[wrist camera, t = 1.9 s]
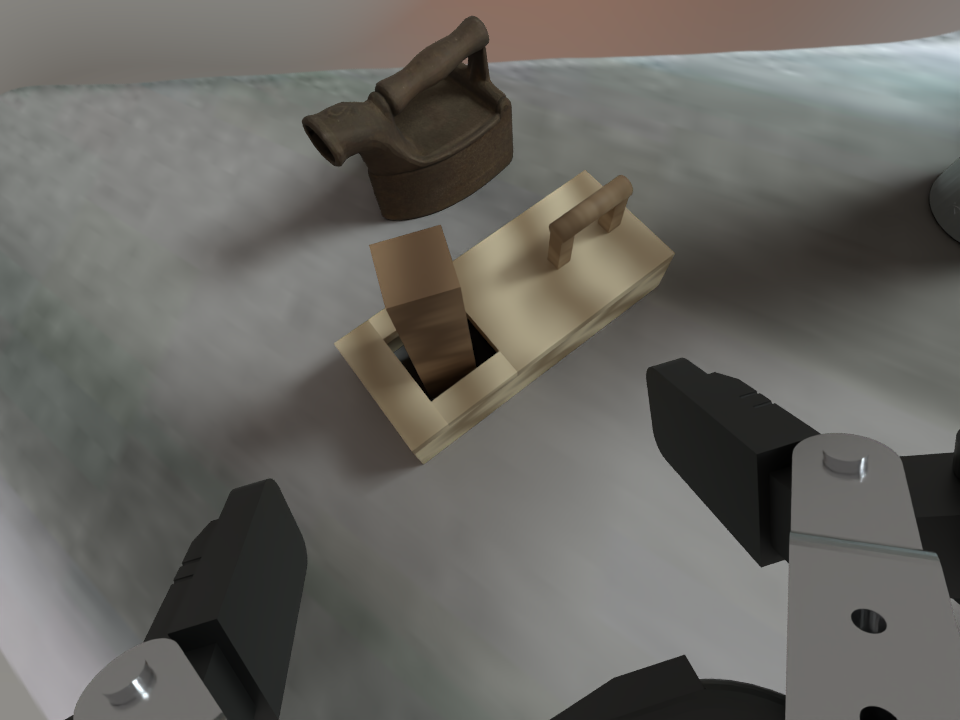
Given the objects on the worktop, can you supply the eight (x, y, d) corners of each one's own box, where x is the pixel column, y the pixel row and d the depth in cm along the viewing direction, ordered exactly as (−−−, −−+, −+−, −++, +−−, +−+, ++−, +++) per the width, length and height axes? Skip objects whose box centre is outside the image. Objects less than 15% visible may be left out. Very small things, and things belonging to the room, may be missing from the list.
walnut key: (465, 340, 44) (440, 224, 29) (479, 384, 43) (460, 286, 28) (418, 353, 44) (369, 245, 29) (430, 399, 43) (385, 308, 28)
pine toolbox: (578, 208, 48) (593, 124, 39) (658, 285, 45) (695, 213, 36) (352, 367, 44) (310, 314, 35) (423, 464, 41) (397, 435, 32)
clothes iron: (333, 210, 50) (272, 90, 37) (461, 112, 53) (444, -28, 40) (388, 263, 47) (342, 154, 35) (518, 157, 51) (519, 23, 38)
